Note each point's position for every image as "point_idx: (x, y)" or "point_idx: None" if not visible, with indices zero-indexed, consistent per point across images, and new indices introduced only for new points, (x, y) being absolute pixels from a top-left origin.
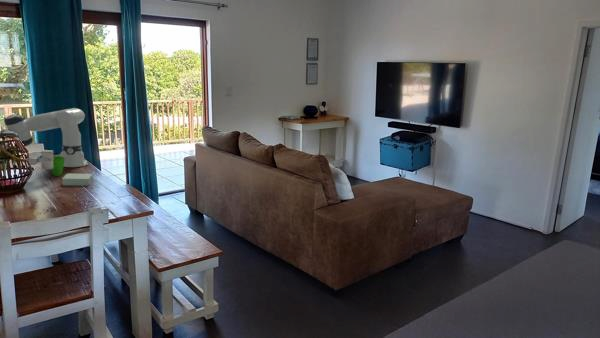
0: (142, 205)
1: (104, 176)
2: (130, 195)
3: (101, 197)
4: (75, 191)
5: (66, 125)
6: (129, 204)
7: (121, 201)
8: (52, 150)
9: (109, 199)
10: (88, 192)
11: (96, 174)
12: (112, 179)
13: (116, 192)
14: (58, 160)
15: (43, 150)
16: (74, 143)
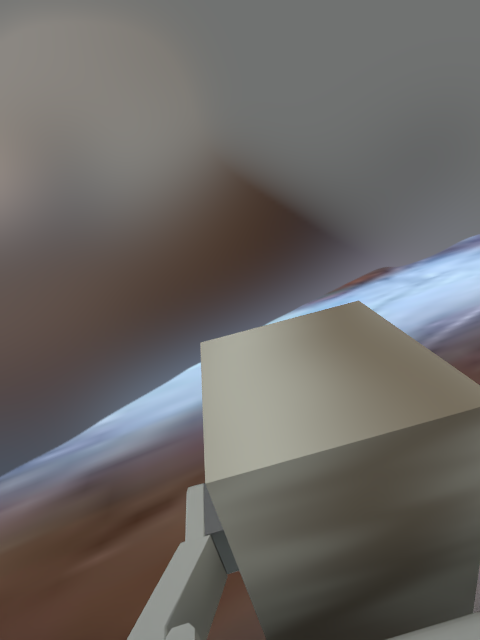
0: (456, 245)
1: (129, 408)
2: (386, 278)
3: (468, 297)
4: (470, 375)
5: None
6: (472, 253)
7: (462, 266)
8: (209, 344)
9: (469, 281)
10: (440, 339)
11: (73, 452)
12: (190, 368)
13: (376, 300)
14: None
15: (263, 456)
16: None
